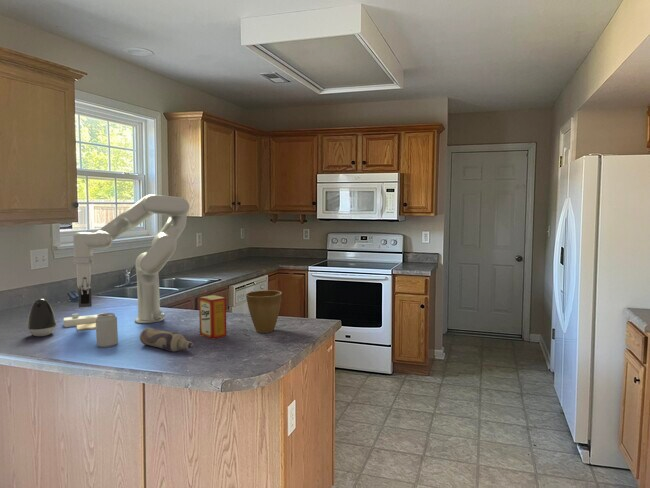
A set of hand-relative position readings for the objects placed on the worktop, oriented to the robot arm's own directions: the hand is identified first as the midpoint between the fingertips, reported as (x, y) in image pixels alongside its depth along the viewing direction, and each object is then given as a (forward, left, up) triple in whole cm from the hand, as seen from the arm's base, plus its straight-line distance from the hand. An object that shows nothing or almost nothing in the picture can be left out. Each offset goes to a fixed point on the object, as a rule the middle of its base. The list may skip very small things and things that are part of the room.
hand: (85, 302), depth 215 cm
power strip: (+7, -6, -11) cm, 15 cm away
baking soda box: (-59, -13, -12) cm, 61 cm away
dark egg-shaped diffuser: (+7, +16, -12) cm, 21 cm away
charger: (0, 0, -2) cm, 2 cm away
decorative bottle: (-56, +10, -12) cm, 58 cm away
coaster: (0, 0, -11) cm, 11 cm away
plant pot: (-74, -28, -12) cm, 80 cm away
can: (-31, +15, -12) cm, 36 cm away
